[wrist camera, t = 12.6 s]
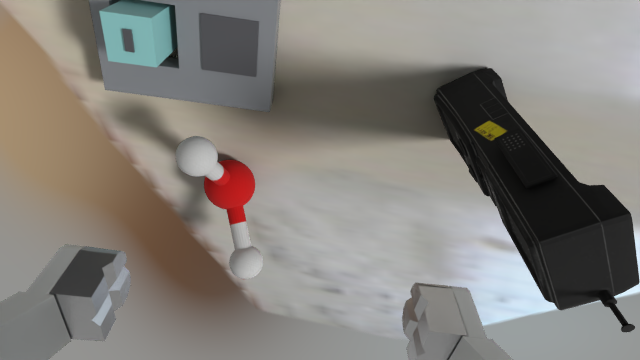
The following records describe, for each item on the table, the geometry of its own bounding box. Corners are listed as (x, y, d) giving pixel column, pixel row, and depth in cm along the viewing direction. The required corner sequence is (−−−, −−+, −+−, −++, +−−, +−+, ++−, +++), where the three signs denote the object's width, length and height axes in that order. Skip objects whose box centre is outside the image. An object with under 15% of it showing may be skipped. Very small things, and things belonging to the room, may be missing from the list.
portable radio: (426, 82, 40) (527, 273, 20) (486, 54, 38) (664, 231, 18) (450, 142, 44) (555, 353, 24) (505, 119, 42) (670, 325, 22)
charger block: (130, -5, 36) (97, 11, 31) (175, 1, 36) (150, 18, 31) (136, 40, 38) (107, 61, 33) (178, 45, 39) (155, 68, 33)
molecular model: (277, 222, 51) (267, 283, 43) (236, 228, 52) (219, 289, 44) (231, 97, 41) (207, 145, 33) (182, 107, 42) (146, 157, 34)
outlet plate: (89, -83, 33) (72, -81, 30) (284, -51, 34) (281, -47, 31) (116, 80, 41) (104, 90, 38) (272, 101, 42) (269, 113, 39)
